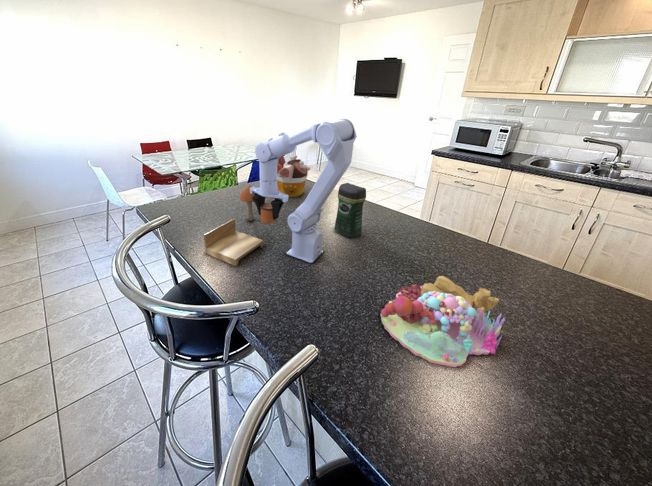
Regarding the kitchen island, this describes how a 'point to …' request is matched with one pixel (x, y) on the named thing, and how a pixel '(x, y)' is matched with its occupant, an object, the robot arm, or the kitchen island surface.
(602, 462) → the kitchen island surface
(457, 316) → the candy landscape model
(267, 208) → the pot
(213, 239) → the shelf
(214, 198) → the kitchen island surface
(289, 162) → the bucket of meat
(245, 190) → the mushroom
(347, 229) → the coffee jar
